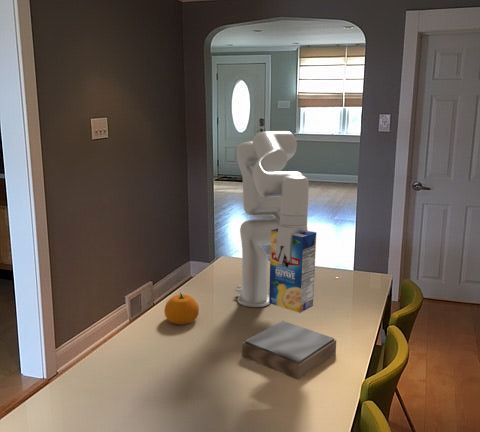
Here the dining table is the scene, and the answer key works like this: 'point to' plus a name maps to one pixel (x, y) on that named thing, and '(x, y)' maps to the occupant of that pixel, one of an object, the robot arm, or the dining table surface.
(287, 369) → the podium
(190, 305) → the fruit
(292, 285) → the beverage box
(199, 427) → the dining table surface
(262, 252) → the robot arm
